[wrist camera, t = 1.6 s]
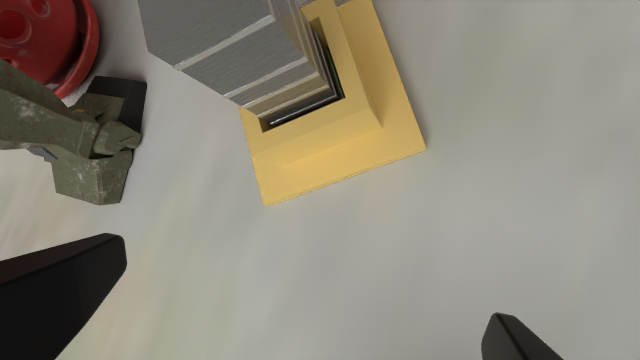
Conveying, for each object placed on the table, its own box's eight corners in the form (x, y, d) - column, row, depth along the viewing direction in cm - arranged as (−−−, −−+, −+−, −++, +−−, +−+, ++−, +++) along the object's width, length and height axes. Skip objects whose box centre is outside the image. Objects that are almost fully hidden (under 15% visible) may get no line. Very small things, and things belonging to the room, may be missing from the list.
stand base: (426, 149, 21) (422, 127, 16) (270, 205, 24) (227, 201, 19) (370, 0, 23) (352, -59, 18) (234, 68, 26) (188, 33, 21)
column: (352, 114, 21) (255, -7, 10) (293, 138, 22) (147, 53, 11) (333, 57, 22) (224, -114, 11) (277, 83, 23) (126, -47, 12)
